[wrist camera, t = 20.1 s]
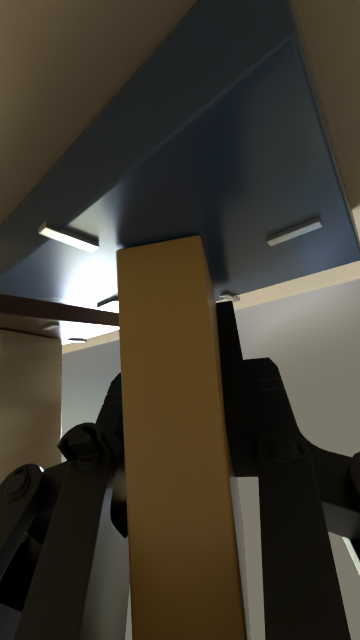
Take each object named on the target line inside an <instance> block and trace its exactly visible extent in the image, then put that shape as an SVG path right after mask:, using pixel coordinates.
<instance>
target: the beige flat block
mask: <svg viewBox="0 0 360 640" xmlns="http://www.w3.org/2000/svg"><path fill="white" fill-rule="evenodd" d="M61 396H62V340H58V339H53V338H47V337H42V336H36V335H31V334H25V333H20V332H14V331H9V330H3V329H2V330H0V484H1V483H2V482H3V480H4V479H5V478H6V477H7V476H8V475H9V474H10V473H11V472H13V471H14V470H15V469H16V468H18V467H20V466H23V465H25V464H31V463H34V464H36V465H39V466H40V467H41V468H42V470H44V469H47V468H49V467H52V466H55V465H57V464H60V463H61V452H60V450H59V449H58V448H57V445H58V443H59V441H60V439H61V410H62V408H61V407H62V406H61V405H62V401H61V400H62V397H61Z"/></svg>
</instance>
